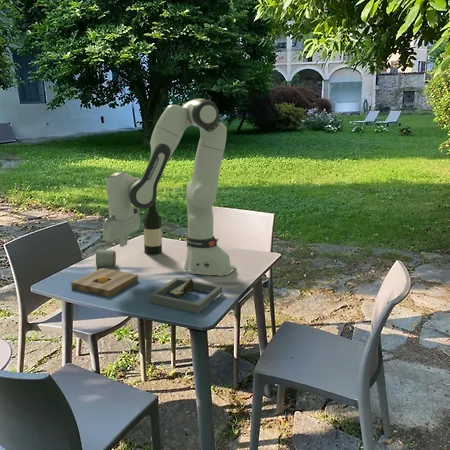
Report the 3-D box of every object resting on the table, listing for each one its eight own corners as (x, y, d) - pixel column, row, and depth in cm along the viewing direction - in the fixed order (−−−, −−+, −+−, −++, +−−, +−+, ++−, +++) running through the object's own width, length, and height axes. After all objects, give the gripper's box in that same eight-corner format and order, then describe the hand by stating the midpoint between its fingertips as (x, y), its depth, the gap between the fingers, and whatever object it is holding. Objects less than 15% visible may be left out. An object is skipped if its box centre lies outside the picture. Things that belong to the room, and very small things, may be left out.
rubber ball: (102, 286, 172) (108, 287, 175) (105, 275, 172) (111, 277, 176) (94, 284, 173) (100, 285, 177) (97, 274, 174) (103, 275, 178)
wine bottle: (145, 249, 220) (143, 189, 212) (162, 249, 221) (161, 189, 213) (144, 255, 212) (142, 193, 204) (161, 254, 213) (160, 192, 205)
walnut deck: (137, 280, 181) (137, 274, 180) (109, 296, 165) (108, 290, 164) (102, 273, 188) (102, 267, 187) (71, 288, 172) (71, 282, 171)
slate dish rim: (222, 293, 169) (222, 286, 169) (198, 313, 153) (198, 305, 152) (176, 284, 177) (176, 277, 176) (149, 302, 160) (149, 294, 160)
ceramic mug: (115, 268, 194) (114, 251, 192) (95, 269, 192) (94, 252, 190) (117, 261, 204) (116, 245, 202) (98, 261, 202) (97, 245, 201)
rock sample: (171, 278, 173) (183, 269, 168) (187, 290, 175) (199, 281, 169) (160, 298, 166) (172, 289, 160) (176, 310, 168) (188, 301, 162)
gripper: (110, 219, 169) (113, 254, 172) (141, 207, 186) (144, 239, 190) (96, 218, 171) (100, 252, 175) (128, 206, 189) (131, 238, 193)
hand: (123, 245), depth 183 cm, fingers closed
